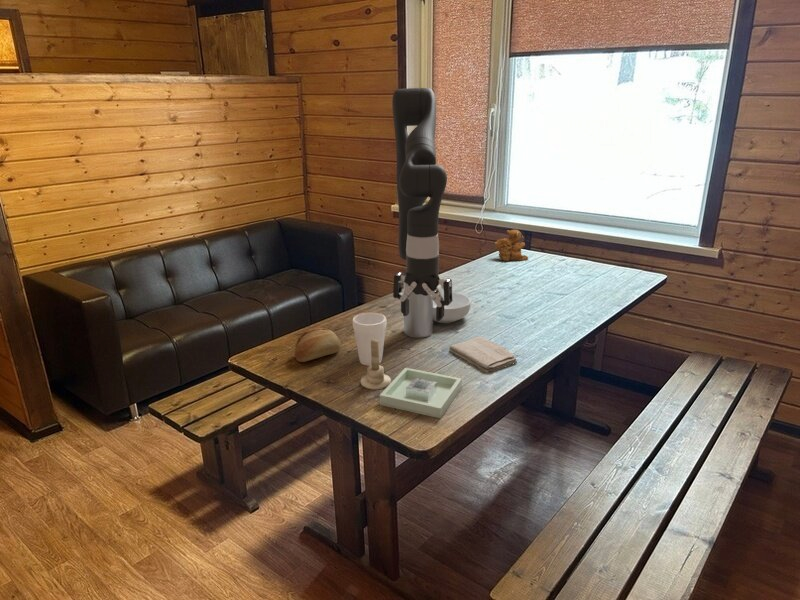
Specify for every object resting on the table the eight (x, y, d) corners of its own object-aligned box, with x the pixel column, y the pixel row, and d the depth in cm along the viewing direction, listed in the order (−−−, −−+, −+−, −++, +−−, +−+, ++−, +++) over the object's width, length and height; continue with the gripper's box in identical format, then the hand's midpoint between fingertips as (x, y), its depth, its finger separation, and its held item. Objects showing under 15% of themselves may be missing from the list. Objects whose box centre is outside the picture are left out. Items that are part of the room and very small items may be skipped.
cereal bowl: (467, 330, 186) (468, 310, 184) (416, 326, 190) (416, 306, 187) (472, 311, 202) (472, 292, 200) (424, 308, 205) (424, 289, 203)
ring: (415, 386, 151) (415, 377, 150) (436, 390, 149) (436, 382, 148) (405, 397, 146) (405, 388, 145) (428, 401, 144) (428, 392, 143)
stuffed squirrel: (529, 259, 260) (531, 230, 255) (505, 264, 254) (506, 235, 249) (515, 254, 268) (516, 226, 264) (490, 258, 262) (492, 230, 257)
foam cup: (347, 360, 167) (345, 318, 162) (371, 350, 173) (370, 310, 168) (369, 371, 161) (368, 328, 156) (393, 360, 167) (393, 318, 162)
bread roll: (286, 358, 169) (284, 333, 166) (328, 343, 178) (327, 319, 175) (305, 369, 162) (303, 343, 159) (348, 353, 172) (346, 328, 169)
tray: (405, 376, 157) (405, 367, 157) (461, 387, 151) (462, 378, 150) (379, 404, 144) (379, 395, 143) (440, 418, 138) (440, 408, 137)
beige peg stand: (369, 372, 160) (367, 332, 155) (395, 378, 157) (395, 337, 152) (355, 386, 153) (353, 344, 149) (382, 391, 150) (382, 349, 146)
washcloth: (488, 375, 159) (489, 365, 158) (447, 352, 173) (447, 342, 172) (519, 364, 165) (520, 354, 164) (477, 342, 179) (477, 333, 178)
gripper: (457, 251, 135) (455, 316, 141) (400, 245, 140) (401, 308, 146) (446, 260, 128) (444, 327, 134) (387, 253, 134) (389, 318, 140)
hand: (422, 317), depth 140 cm, fingers open, 8 cm apart
